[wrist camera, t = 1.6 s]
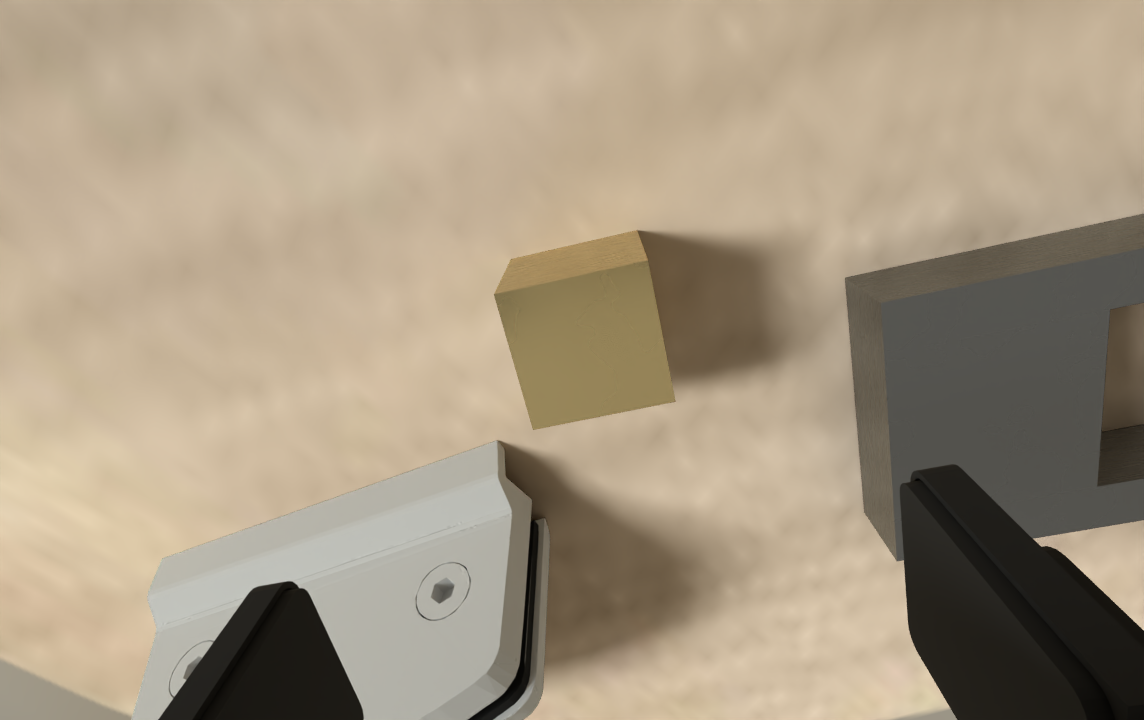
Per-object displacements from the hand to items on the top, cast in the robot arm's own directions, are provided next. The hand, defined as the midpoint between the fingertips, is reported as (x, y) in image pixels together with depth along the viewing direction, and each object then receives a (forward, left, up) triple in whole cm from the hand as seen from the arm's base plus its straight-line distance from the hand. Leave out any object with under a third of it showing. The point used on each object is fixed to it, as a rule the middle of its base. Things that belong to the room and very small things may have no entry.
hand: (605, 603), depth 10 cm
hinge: (+9, -12, -15) cm, 21 cm away
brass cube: (0, 0, -15) cm, 15 cm away
